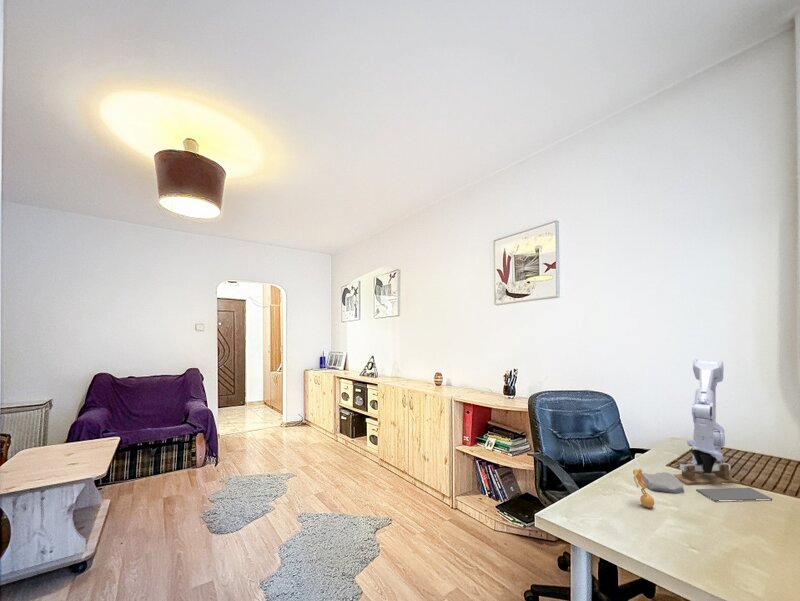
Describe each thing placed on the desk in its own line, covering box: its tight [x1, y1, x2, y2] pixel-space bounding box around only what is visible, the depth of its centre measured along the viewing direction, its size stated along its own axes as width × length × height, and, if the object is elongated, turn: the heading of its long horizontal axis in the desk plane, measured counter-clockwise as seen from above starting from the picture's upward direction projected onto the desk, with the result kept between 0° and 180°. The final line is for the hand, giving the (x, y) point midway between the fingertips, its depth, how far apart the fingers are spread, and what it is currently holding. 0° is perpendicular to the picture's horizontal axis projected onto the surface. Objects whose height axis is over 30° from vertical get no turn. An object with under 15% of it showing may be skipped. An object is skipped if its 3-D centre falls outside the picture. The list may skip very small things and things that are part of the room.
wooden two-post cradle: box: [672, 460, 740, 486], centre depth 148 cm, size 20×7×6 cm, turn 91°
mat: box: [695, 487, 773, 502], centre depth 136 cm, size 8×20×1 cm, turn 91°
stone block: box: [642, 471, 685, 494], centre depth 143 cm, size 12×5×10 cm
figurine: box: [632, 468, 655, 508], centre depth 130 cm, size 8×6×12 cm
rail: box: [679, 462, 731, 472], centre depth 148 cm, size 18×2×2 cm, turn 91°
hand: (705, 471), depth 148 cm, fingers closed on rail, 2 cm apart
